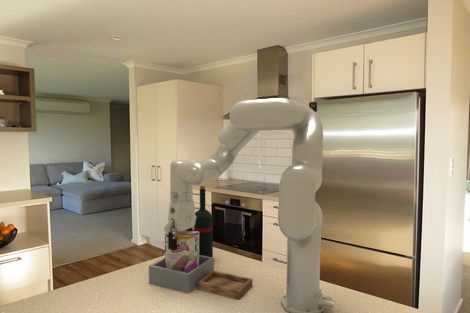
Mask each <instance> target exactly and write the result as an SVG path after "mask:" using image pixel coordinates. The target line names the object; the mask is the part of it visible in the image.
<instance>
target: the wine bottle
mask: <svg viewBox="0 0 470 313" xmlns="http://www.w3.org/2000/svg"><path fill="white" fill-rule="evenodd" d="M199 187H200V188H199V209H198V210H197V211H195V216H197V218H196V224H195V226H194V228H195V229H194V230H193V231H198V232H199V255H202V256H207V257H212V258H214V252H213V251H214V250H213V249H214V247H213V246H214V242H213V236H214V235H213V215H212V213H211V212H210V210H208V209H206V185H202V184H200V185H199Z"/></svg>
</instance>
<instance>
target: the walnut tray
mask: <svg viewBox="0 0 470 313" xmlns="http://www.w3.org/2000/svg"><path fill="white" fill-rule="evenodd" d="M252 287H253V278H250V277H245V276H240V275H235V274H231V273H227V272H221V271H217V270H214V271H212V272H210V273H209V274H208V275H206V276H205V277H203V278H202V279H201V280H199V281H198V282H197V288H196V289H197V290H199V291H202V292H206V293H211V294H213V295H214V294H215V295H219V296H221V297H222V296H223V297H227V298H231V299H235V300H238V301H239V300H241V299H242V298H243V297H244V295H246V293H247V292H249V290H251V288H252Z"/></svg>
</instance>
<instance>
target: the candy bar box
mask: <svg viewBox="0 0 470 313" xmlns="http://www.w3.org/2000/svg"><path fill="white" fill-rule="evenodd" d="M172 234H174V232H172ZM176 238H177V250H176V251H175V250H170V249H168V238H167V236H166V234H164V258H165V268H167V269H172V270H176V271H181V272H185V273H189V272H190V271H192V270H193V269H195V268H196V267H198V266H199V232H198V231H183V232H178V234H177V236H176Z"/></svg>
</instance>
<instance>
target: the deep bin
mask: <svg viewBox="0 0 470 313" xmlns="http://www.w3.org/2000/svg"><path fill="white" fill-rule="evenodd" d="M212 271H215V258H214V257H213V258H212V257H207V256H202V255H199V266H198V267H196V268H195V269H193V270H192V271H190V272H189V273H185V272H181V271H176V270H172V269H167V268H165V257H163V258H161V259H159V260H157V261H155V262H153V263H152V264H149V265H148V283H149V284H151V285H154V286H155V285H156V286H159V287H162V288H167V289H170V290H174V291H177V292H178V291H179V292H182V293H186V294H190V293H191V292H193V291H194V290H195V289H197V282H198V281H199V280H201V279H202V278H203V277H205V276H206V275H208V274H209V273H210V272H212Z"/></svg>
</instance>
